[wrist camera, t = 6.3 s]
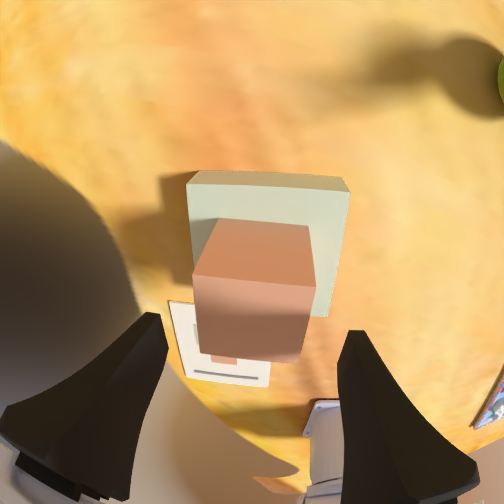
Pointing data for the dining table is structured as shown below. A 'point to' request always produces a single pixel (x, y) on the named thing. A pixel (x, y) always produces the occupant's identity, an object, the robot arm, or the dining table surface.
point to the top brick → (254, 290)
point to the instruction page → (211, 364)
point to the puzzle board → (492, 406)
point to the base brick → (275, 213)
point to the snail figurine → (501, 79)
